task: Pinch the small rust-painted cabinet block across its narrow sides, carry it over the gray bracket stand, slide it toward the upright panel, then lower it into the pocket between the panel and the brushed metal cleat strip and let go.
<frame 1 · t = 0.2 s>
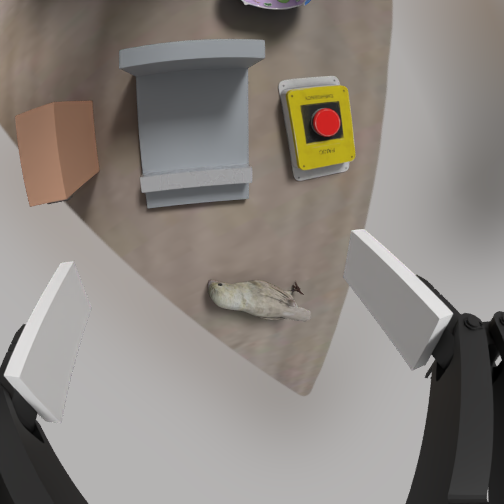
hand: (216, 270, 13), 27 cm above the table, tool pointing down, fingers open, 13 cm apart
cleat strip: (195, 172, 37), resting on gray bracket stand
emergency button: (314, 126, 37), on the table
gray bracket stand: (193, 129, 34), on the table
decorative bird: (253, 285, 49), on the table
cabinet block: (79, 139, 31), on the table
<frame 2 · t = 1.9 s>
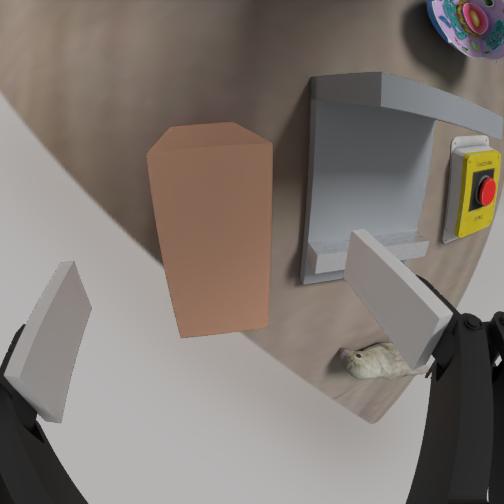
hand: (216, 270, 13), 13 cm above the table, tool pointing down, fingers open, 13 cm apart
cleat strip: (362, 238, 29), resting on gray bracket stand
emergency button: (464, 187, 30), on the table
gray bracket stand: (370, 185, 26), on the table
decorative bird: (376, 344, 41), on the table
cell model: (442, 21, 17), on the table
cabinet block: (205, 182, 23), on the table
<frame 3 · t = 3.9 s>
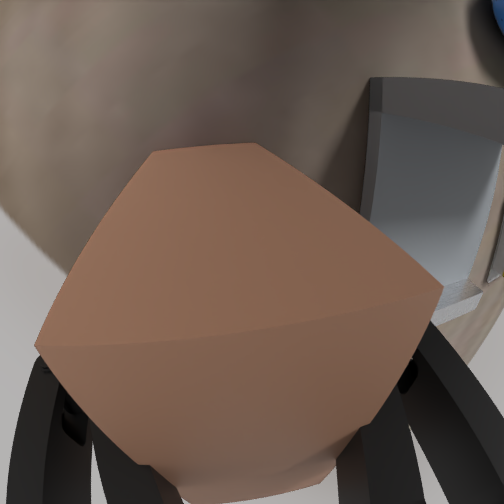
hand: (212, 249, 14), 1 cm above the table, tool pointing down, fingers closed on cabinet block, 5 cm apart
cleat strip: (410, 293, 21), resting on gray bracket stand
gray bracket stand: (429, 230, 18), on the table
cell model: (501, 22, 10), on the table
cabinet block: (210, 237, 15), on the table, touching gripper
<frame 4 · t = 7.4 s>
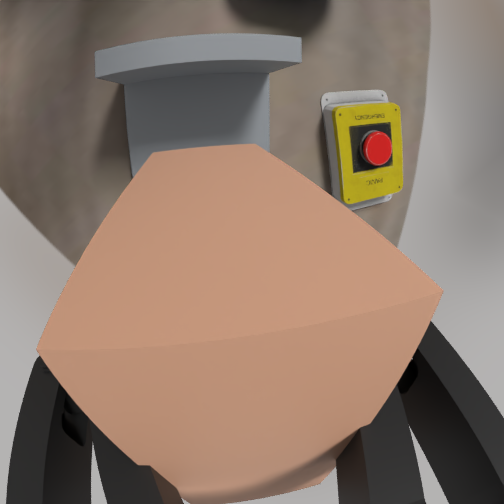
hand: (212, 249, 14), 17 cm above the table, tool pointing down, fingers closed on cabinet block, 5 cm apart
emergency button: (358, 149, 31), on the table
gray bracket stand: (199, 151, 27), on the table
cabinet block: (210, 238, 15), point 16 cm above the table, touching gripper
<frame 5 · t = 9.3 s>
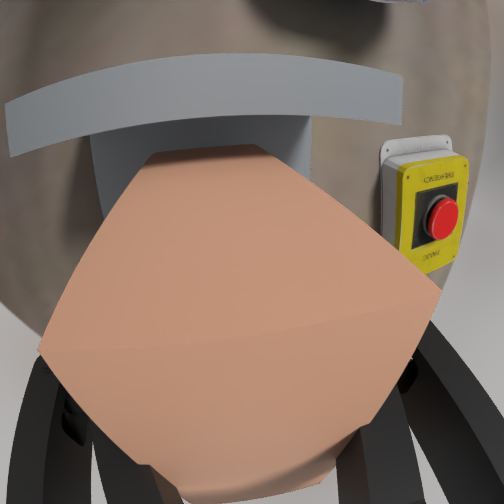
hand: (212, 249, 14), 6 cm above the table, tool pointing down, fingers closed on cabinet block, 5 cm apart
emergency button: (413, 211, 24), on the table
gray bracket stand: (207, 226, 20), on the table
cabinet block: (210, 239, 15), point 5 cm above the table, touching gripper
when the fingers open (4 cm above the table, at t = 11.0 s): cabinet block drops 1 cm, resting on gray bracket stand.
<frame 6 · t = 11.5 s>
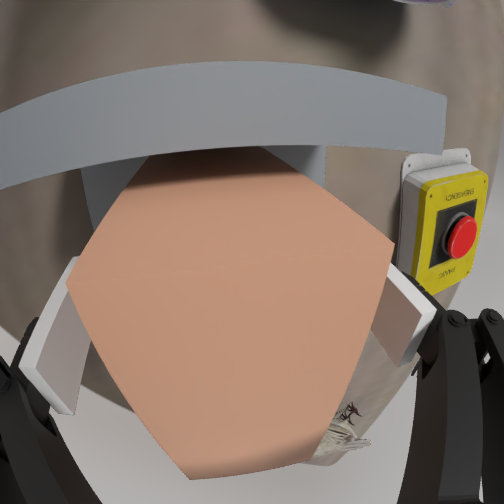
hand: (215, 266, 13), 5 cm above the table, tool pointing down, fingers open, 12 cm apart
emergency button: (430, 226, 23), on the table
gray bracket stand: (210, 248, 18), on the table
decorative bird: (303, 416, 35), on the table
cabinet block: (209, 228, 16), point 1 cm above the table, touching gray bracket stand
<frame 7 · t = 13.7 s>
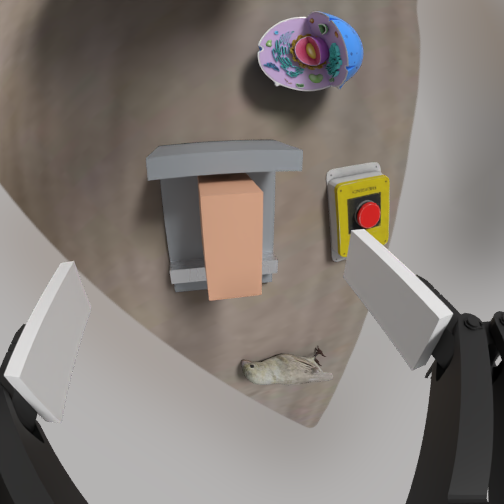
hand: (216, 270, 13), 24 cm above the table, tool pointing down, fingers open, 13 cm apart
cleat strip: (221, 258, 40), resting on gray bracket stand
emergency button: (354, 211, 41), on the table
gray bracket stand: (219, 218, 37), on the table
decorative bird: (281, 355, 52), on the table
cell model: (296, 58, 29), on the table
cabinet block: (219, 206, 35), point 1 cm above the table, touching gray bracket stand
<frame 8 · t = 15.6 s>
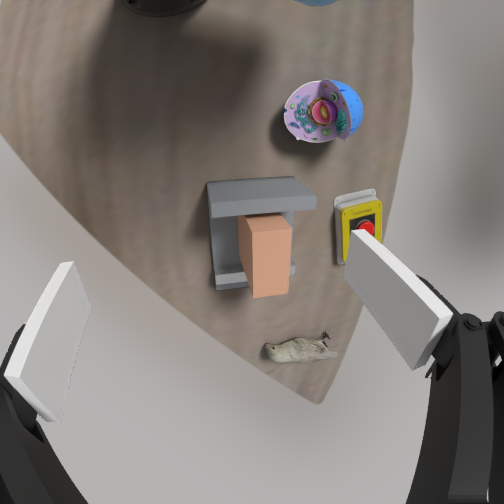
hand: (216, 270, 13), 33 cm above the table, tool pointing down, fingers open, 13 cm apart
cleat strip: (252, 264, 52), resting on gray bracket stand
emergency button: (354, 226, 54), on the table
gray bracket stand: (251, 234, 49), on the table
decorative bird: (295, 339, 66), on the table
cell model: (311, 111, 41), on the table
cabinet block: (252, 227, 47), point 1 cm above the table, touching gray bracket stand
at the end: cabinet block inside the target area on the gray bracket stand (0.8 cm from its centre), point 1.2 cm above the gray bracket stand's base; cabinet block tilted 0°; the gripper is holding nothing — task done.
